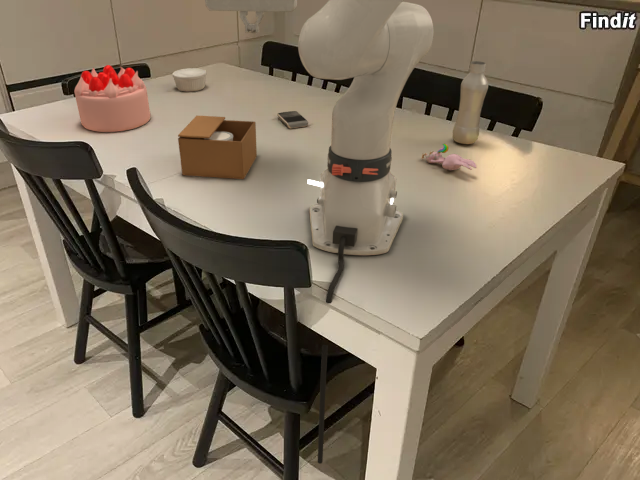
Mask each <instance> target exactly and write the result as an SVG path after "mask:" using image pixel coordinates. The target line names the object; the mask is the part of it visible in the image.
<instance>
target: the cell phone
mask: <svg viewBox="0 0 640 480" xmlns="http://www.w3.org/2000/svg"><path fill="white" fill-rule="evenodd" d="M276 115H277V117H278V119H279V120H280V121H281V122H282V123H283V124H284V125H285V126H286V127H287V128H288V129H291V130H292V129H297V128H306V127H307V126H308V125H309V120H307V119H306V118H305V116H303V115H302V114H301V113H299V112H298V111H297V110H291V111H283V112H278V113H277V114H276Z"/></svg>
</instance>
